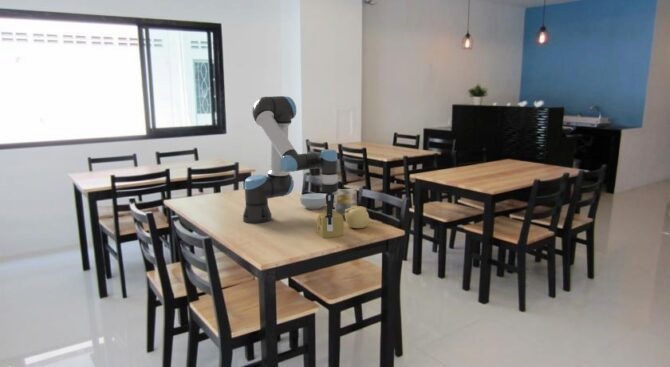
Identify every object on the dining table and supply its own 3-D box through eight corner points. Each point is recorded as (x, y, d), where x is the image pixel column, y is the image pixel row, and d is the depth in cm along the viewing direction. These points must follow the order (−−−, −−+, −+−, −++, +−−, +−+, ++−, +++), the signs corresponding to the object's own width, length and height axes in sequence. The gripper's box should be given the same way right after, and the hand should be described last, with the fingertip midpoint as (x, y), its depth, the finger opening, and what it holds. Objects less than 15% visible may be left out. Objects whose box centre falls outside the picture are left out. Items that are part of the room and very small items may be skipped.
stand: (330, 219, 245) (330, 191, 242) (330, 216, 251) (330, 188, 248) (356, 219, 245) (356, 191, 242) (356, 216, 251) (356, 188, 248)
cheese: (316, 232, 224) (316, 212, 222) (337, 230, 227) (337, 210, 225) (322, 238, 214) (322, 217, 212) (344, 236, 217) (344, 215, 215)
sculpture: (362, 222, 240) (362, 202, 237) (372, 228, 229) (372, 207, 226) (342, 225, 236) (341, 204, 233) (351, 231, 225) (351, 210, 222)
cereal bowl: (330, 204, 279) (330, 192, 278) (327, 211, 263) (327, 199, 262) (302, 204, 281) (302, 192, 279) (297, 211, 265) (297, 198, 263)
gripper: (337, 188, 203) (337, 234, 207) (338, 178, 228) (339, 219, 232) (319, 188, 204) (321, 234, 208) (323, 178, 228) (324, 219, 232)
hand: (330, 226), depth 220 cm, fingers open, 13 cm apart
